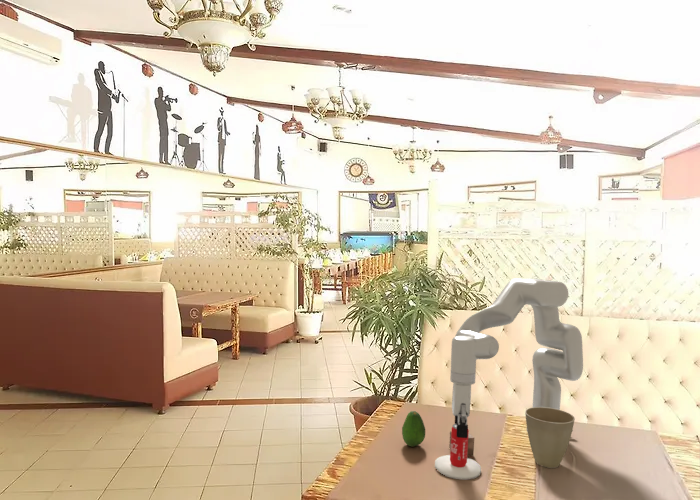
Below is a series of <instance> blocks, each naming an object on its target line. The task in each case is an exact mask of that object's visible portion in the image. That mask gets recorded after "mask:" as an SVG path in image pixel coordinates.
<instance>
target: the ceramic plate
mask: <svg viewBox="0 0 700 500" xmlns="http://www.w3.org/2000/svg"><path fill="white" fill-rule="evenodd" d="M434 468H436V469H437V470H438V471H439V472H440V473H441V474H440V473H439V472H438V471H437V470H436V469H435V470H436V471H437V472H438V473H439V474H440V475H442V474H443V475H442V476H444V475H445V476H444V477H447V478H450V479H454V480H462V481H463V480H464V481H465V480H473V479H476V478H478V477H480V476H481V473H482V467H481V465H480V464H479V462H477V461H476V460H475V459H472V458H470V457H467V463H466V465H465V467H461V468H460V467H455V466H453V465H451V461H450V454H447V455H441V456H439V457H437V458H436V459H435V460H434Z"/></svg>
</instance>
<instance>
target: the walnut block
mask: <svg viewBox="0 0 700 500" xmlns="http://www.w3.org/2000/svg"><path fill="white" fill-rule="evenodd" d="M451 431H452V430H451ZM451 431H449V444H448V445H449V446H448V447H449V448H450V449H451ZM449 448H448V449H449ZM450 449H449V450H450ZM474 449H475V437H474V436H473V435H472V434H471V433H470V432H469V434H468V451H467V457H468V456H474Z"/></svg>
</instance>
